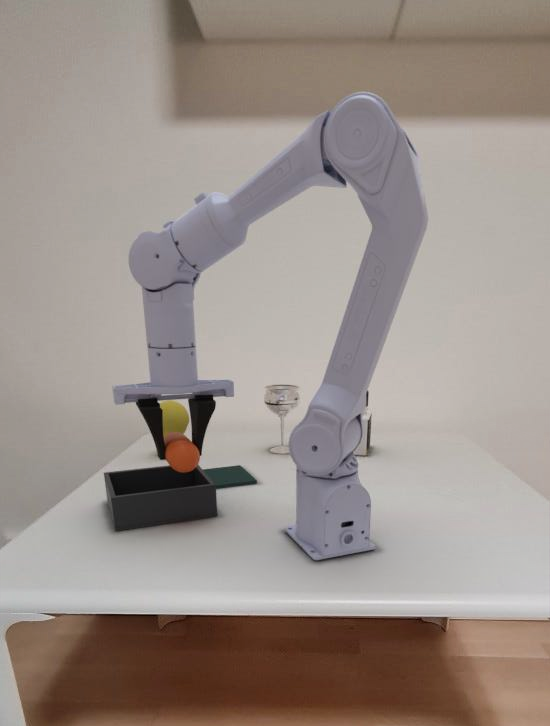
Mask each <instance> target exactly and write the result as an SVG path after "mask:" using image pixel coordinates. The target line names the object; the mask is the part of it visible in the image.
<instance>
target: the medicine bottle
mask: <svg viewBox="0 0 550 726" xmlns="http://www.w3.org/2000/svg"><path fill="white" fill-rule="evenodd" d="M369 393H370V392H369V389H368V390H367V393H366V407H365V410H364V413H363V417H362V424H363V438H362V441H361V443H360V445H359V446H358V447H357V449H356V450H354V451H353V452H354V455H355V456H363V457H364V456H367V455H368V453H369V450H370V447H371V432H372V415H373V414H372V411H371V410H368V409H369Z"/></svg>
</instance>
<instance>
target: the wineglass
mask: <svg viewBox="0 0 550 726" xmlns="http://www.w3.org/2000/svg"><path fill="white" fill-rule="evenodd" d="M263 388H264V390H265V393H264V396H263V402H264V404H265V407H266V408H267V410H269V411H270V412H271V413H272V414H275V415H277V417H278V418H279V423H280V439H281V440H280V441H281V445H279V446H275V447H271V448H269V452H271V453H273V454H280V455H281V454H282V455H283V454H290V452H289V446H286V445H284V444H285V418H287V416H288V415H290V414H292V413H294V412H295V411H296V410H297V409H298V408H299V405H300V403H301V395H300V393H299V391H300V389H301V387H300V386H299V385H295V384H270V385H265V386H264V387H263Z"/></svg>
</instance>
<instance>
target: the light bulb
mask: <svg viewBox="0 0 550 726" xmlns="http://www.w3.org/2000/svg"><path fill="white" fill-rule="evenodd" d="M159 403H160V408H161V409H162V410H163V437H164V436H165V435H166V434H168V433H170V432H180V433H182V434H184V435H185V432H186V431H187V428H188V426H189V423H190V414H189V412H188V410H187V408H186V407H185V406H184V405H183V404H182V403H181V402H178V401H175V400H163V401H161V402H159Z"/></svg>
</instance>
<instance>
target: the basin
mask: <svg viewBox="0 0 550 726" xmlns="http://www.w3.org/2000/svg"><path fill="white" fill-rule="evenodd" d="M103 478H104V486H105V493H106V501H107V506H108V509H109V513H110V518H111V521H112V524H113V528H114V531H115V532H120V531H128V530H133V529H140V528H148V527H154V526H161V525H168V524H174V523H175V524H176V523H181V522H187V521H194V520H201V519H209V518H214V517H218V501H217V499H218V498H217V488H216V485H215V484H214V482H213V481H212V480H211V479H210V478H209V477H208V475H207V474H206V473H205V472H204V471H203V468H202V467H201V466H200V465H199V464H198V465H197V467H196V468H195V469H193V470H192V471H190V472H186V473H182V472H178V471H176V470H174V469H173V468H172V467H171V466H170V465H169V464H168V465H160V466H152V467H151V466H150V467H142V468H141V467H140V468H133V469H132V468H131V469H124V470H113V471H105V472H103Z"/></svg>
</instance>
